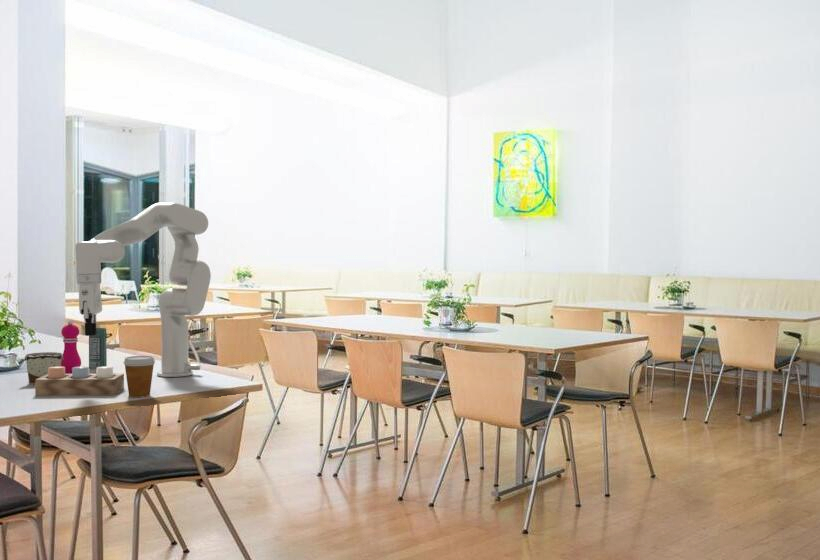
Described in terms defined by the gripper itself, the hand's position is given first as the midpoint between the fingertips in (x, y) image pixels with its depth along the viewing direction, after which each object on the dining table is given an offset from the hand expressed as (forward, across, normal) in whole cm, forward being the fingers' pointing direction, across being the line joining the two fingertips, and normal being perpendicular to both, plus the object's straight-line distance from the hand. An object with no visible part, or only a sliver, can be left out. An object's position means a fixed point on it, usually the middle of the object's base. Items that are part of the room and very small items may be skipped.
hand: (90, 335), depth 270 cm
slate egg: (+16, -6, +2) cm, 17 cm away
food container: (+18, +14, +20) cm, 31 cm away
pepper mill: (+19, +29, +16) cm, 38 cm away
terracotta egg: (+16, -6, +10) cm, 19 cm away
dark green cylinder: (+19, +49, +12) cm, 54 cm away
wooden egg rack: (+18, -6, +2) cm, 19 cm away
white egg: (+16, -6, -5) cm, 18 cm away
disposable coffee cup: (+18, -13, -18) cm, 29 cm away
